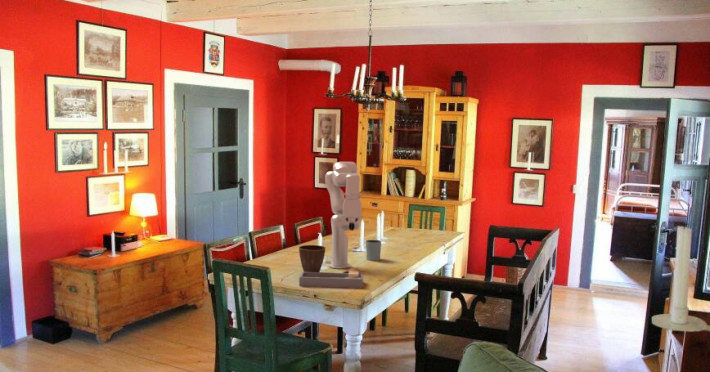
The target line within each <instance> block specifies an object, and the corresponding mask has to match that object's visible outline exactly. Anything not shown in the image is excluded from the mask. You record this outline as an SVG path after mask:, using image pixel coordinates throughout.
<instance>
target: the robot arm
mask: <svg viewBox="0 0 710 372" xmlns="http://www.w3.org/2000/svg"><path fill="white" fill-rule="evenodd" d="M324 180H325V181H324V182H325V185H326V189H327V191H328V193H329V196H330V197H329V199H330V206H331V211H332V213H333V214H334V215H332V217H331V218H330V225H331V263H329V264H328V267H330V268H332V269H348V268H350V267H351V264H350V263H348V262H349V261H348V258H349V257H348V253H349V251H348V250H349V237H348V235H347V234H346V233H345V231H355V230H359V229H360V227H361V220H362V200H361V199H362V198H363V195H361V194H360V187H361V186H360V185H361V184H360V182H361V181H360V180H361V177H360V175H359V174H358V166H357V164H356V163H355V162H354V161H338V162H336V163H334V164H333V167H332V171H331V170H330V171H328V172H327V173H325V177H324ZM341 187H345V193H344V191H343V190H342V189H341Z"/></svg>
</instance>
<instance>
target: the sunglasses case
mask: <svg viewBox="0 0 710 372" xmlns="http://www.w3.org/2000/svg"><path fill="white" fill-rule="evenodd" d="M349 271H351V272H359V274H363V275H364V274H365V273H364V272H362V271H360V270H358V269H356V268H354V266H352V267H351V268H350V267H349V269H347V270H345V271H343V272H342V273H349Z"/></svg>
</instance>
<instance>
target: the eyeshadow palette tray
mask: <svg viewBox="0 0 710 372" xmlns="http://www.w3.org/2000/svg"><path fill="white" fill-rule="evenodd" d="M348 274H349V273H343V272H327V271H326V272H325V271H324V272H323V271H320V272H304V271H302V272H301V273H300V276H299V279H298V281H299V282H298V286H300V287H322V288H323V287H326V288H331V287H332V288H351V289H352V288H355V289H360V288H361V289H362V288H363V285H364V274H358V279H351V278H348Z"/></svg>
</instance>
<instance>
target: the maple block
mask: <svg viewBox="0 0 710 372" xmlns="http://www.w3.org/2000/svg"><path fill="white" fill-rule="evenodd" d="M358 274H359V272H351V271H349V274H348V278H351V279H358Z"/></svg>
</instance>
